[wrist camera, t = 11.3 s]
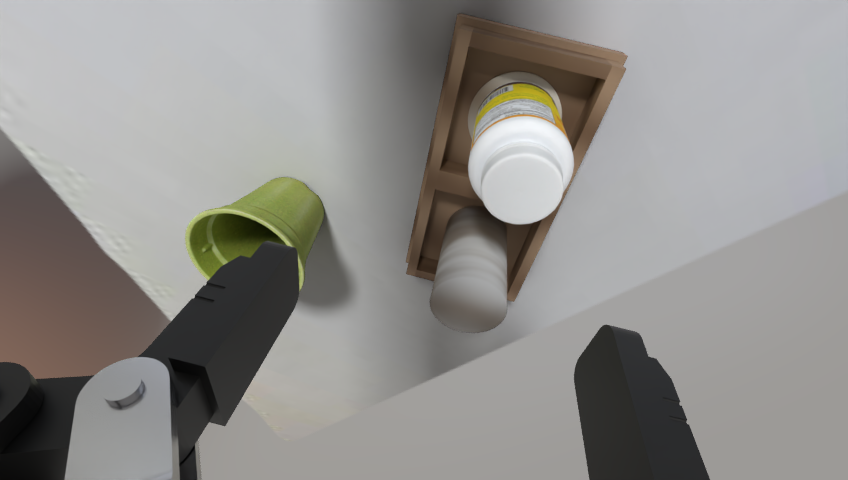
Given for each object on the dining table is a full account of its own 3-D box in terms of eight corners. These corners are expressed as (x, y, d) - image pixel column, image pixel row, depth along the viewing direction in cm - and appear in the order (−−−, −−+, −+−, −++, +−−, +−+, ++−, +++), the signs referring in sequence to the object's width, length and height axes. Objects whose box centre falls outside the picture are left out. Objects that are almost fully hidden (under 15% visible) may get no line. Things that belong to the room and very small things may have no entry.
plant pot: (232, 156, 34) (163, 205, 27) (332, 161, 33) (286, 214, 26) (261, 240, 40) (210, 299, 33) (348, 248, 38) (314, 311, 31)
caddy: (459, 13, 25) (436, 39, 17) (623, 52, 25) (680, 98, 16) (408, 254, 37) (381, 336, 29) (516, 282, 37) (519, 372, 29)
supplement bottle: (539, 164, 28) (554, 249, 20) (467, 146, 28) (452, 223, 20) (571, 89, 25) (603, 155, 17) (488, 68, 25) (481, 124, 17)
